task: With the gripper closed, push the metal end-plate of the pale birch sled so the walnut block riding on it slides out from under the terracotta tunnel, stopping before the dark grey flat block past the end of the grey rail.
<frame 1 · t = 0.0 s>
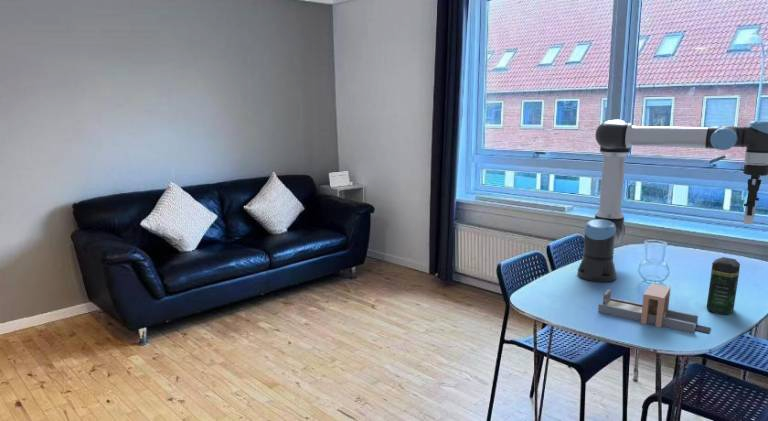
hand: (749, 220, 193), 28 cm above the table, fingers open, 13 cm apart
tunnel: (654, 319, 174), resting in rail
rail: (646, 317, 176), on the table
coffee jar: (720, 310, 182), on the table
dark grey flat block: (702, 329, 166), on the table
sled: (634, 303, 177), point 4 cm above the table, slide at 0.0 cm
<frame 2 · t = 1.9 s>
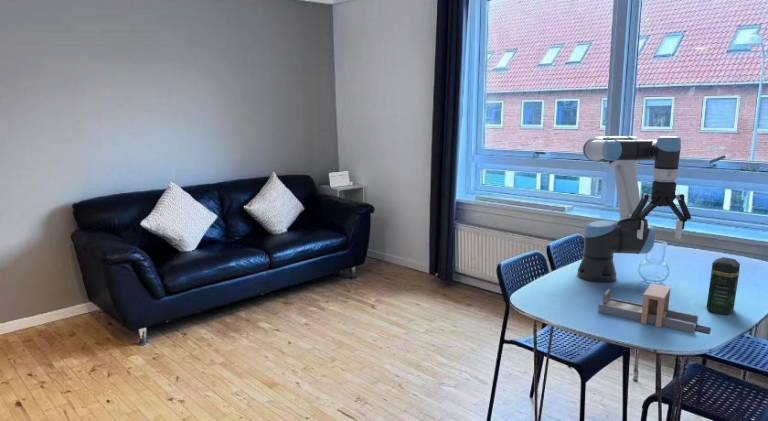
hand: (658, 238, 187), 23 cm above the table, fingers open, 13 cm apart
nothing on the table moved.
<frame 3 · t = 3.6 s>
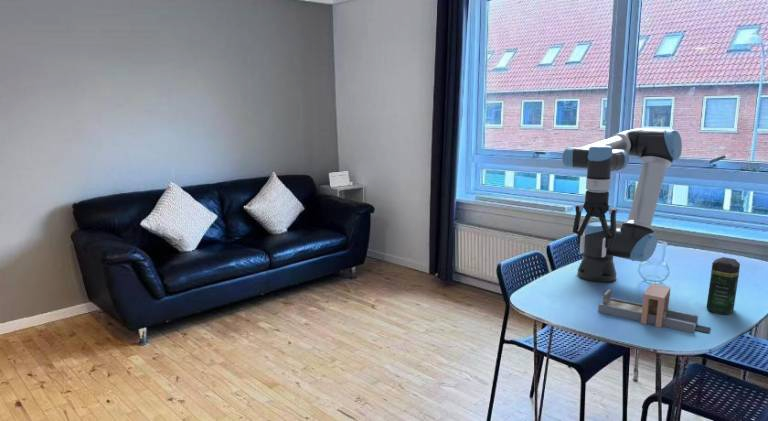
hand: (592, 254, 183), 19 cm above the table, fingers open, 7 cm apart
nothing on the table moved.
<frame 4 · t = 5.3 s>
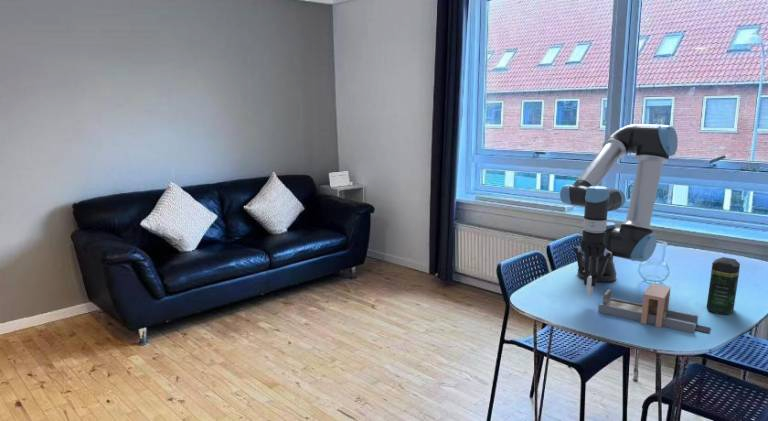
hand: (589, 294, 186), 4 cm above the table, fingers closed
nothing on the table moved.
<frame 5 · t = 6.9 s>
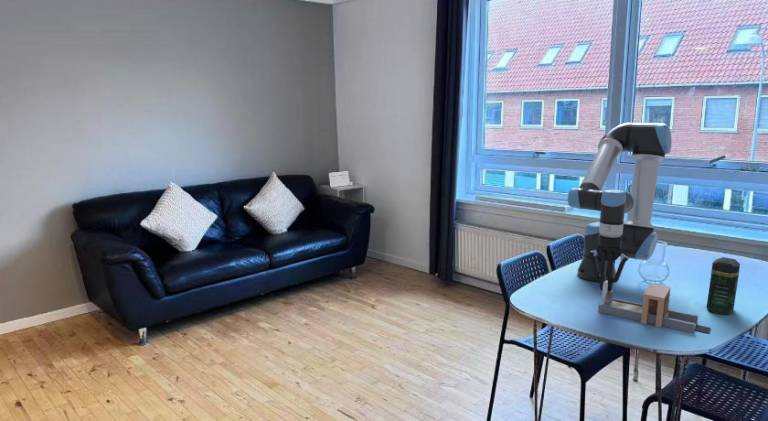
hand: (605, 299, 183), 3 cm above the table, fingers closed
sled: (636, 303, 177), point 4 cm above the table, slide at 0.7 cm, touching gripper
everything else where it was.
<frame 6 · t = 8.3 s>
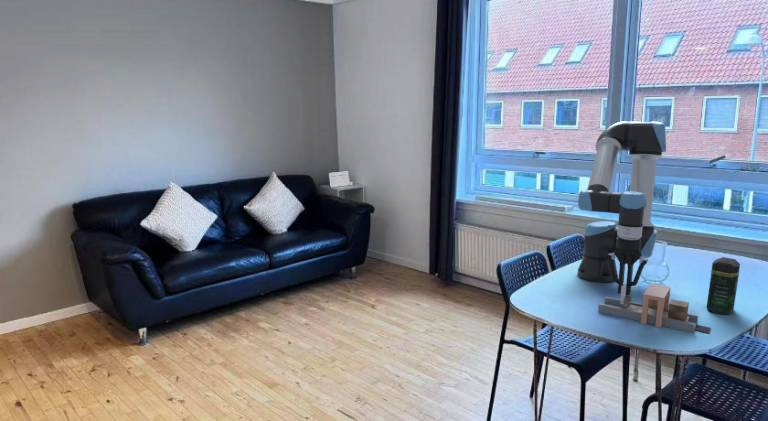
hand: (623, 302, 180), 3 cm above the table, fingers closed
sled: (656, 307, 174), point 4 cm above the table, slide at 6.6 cm, touching gripper
everything else where it was.
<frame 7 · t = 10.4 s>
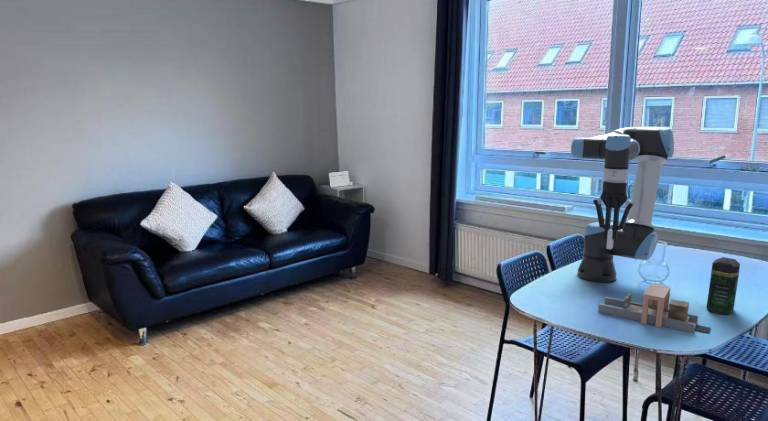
hand: (609, 248, 180), 22 cm above the table, fingers closed
sled: (656, 307, 173), point 4 cm above the table, slide at 6.7 cm
everything else where it was.
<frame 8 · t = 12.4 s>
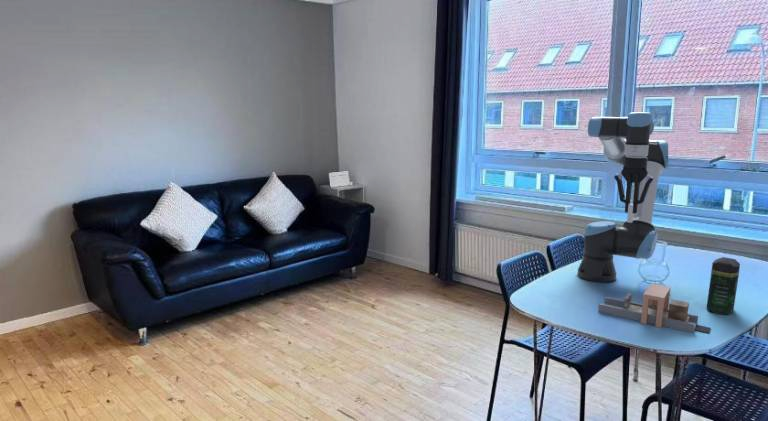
hand: (630, 221, 187), 29 cm above the table, fingers closed
nothing on the table moved.
at the end: sled slide at 6.7 cm; sled 1.0 cm from the target spot, resting on rail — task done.
